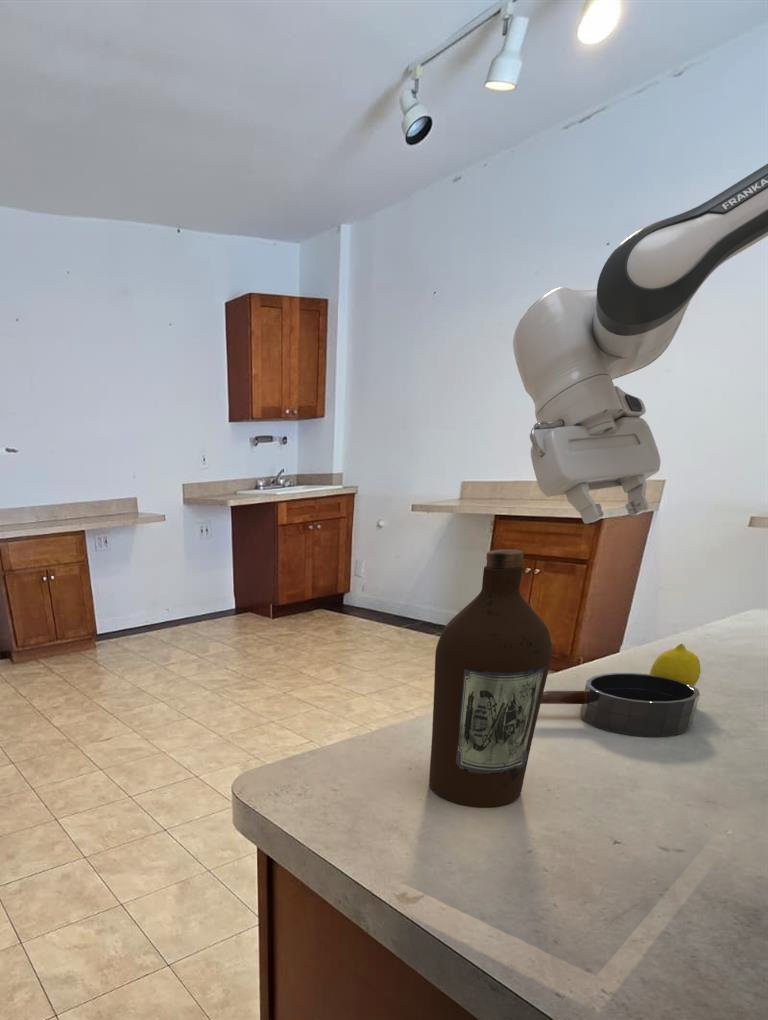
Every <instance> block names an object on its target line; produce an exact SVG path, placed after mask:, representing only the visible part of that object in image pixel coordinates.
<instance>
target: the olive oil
mask: <svg viewBox="0 0 768 1020" xmlns="http://www.w3.org/2000/svg"><path fill="white" fill-rule="evenodd" d="M524 554H525V551H523V550H521V549H511V548H510V549H508V548H507V549H506V548H505V549H493V550H489V551H487V552H486V557H485V558H486V559H485V560H486V565H485V566H483V571H482V572H483V573H482V574H483V575H482V582H481V590H480V592H479V593H478V594H477V595H476V596H475V597H474V598H473V599H472V600H471V601H470V602H469V603H468V604H467V605H466V606H465V607H464V608H462V609H461V610H460V611H459V612H458V613H457V614H456V615H455V616H454V617H452V618H451V619H450V621H448V623H446V625H445V626H444V628H443V630H442V631H441V634H440V636H439V638H438V641H437V644H436V647H435V653H434V654H435V655H434V681H433V703H432V704H433V708H432V728H431V730H432V731H431V748H430V761H429V762H430V763H429V778H428V779H429V780H428V784H429V787H430V788H431V789H432V790H433V792H434V793H435V792H436V793H435V794H437V795H438V796H440V797H441V798H443V799H445V800H447V799H448V801H449V802H453V803H456V804H460V805H465V806H471V807H478V808H479V807H480V808H481V807H484V808H486V807H487V808H489V807H499V806H504V805H508V804H511V803H512V802H515V801H516V800H518V799H519V797H520V796H521V794H522V790H523V785H524V781H525V780H524V779H525V776H526V771H527V768H528V767H527V766H528V761H529V756H530V752H531V747H532V743H533V739H534V733H535V730H536V725H537V722H538V716H539V713H540V708H541V705H542V704H541V700H542V696H543V691H544V690H545V687H546V684H547V678H548V674H549V671H550V666H551V663H552V658H553V657H552V656H553V647H552V639H551V634H550V632H549V629H548V627H547V625H546V623H545V622H544V621H543V620H542V618H541V617H540V616H539V614H537V612H536V611H535V610H534V608H532V607H531V605H530V604H529V603H528V601H526V599H525V598H524V597H523V595H522V594H521V591H520V588H521V587H520V586H521V582H522V576H523V570H524V566H523V565H522V562H523V560H524Z"/></svg>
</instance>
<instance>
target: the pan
mask: <svg viewBox="0 0 768 1020" xmlns="http://www.w3.org/2000/svg"><path fill="white" fill-rule="evenodd" d="M583 691H587V692H588V701H587V703H586V704H580V705H581V706H580V712H579V716H580V718H581V719H582V720H583V721H584V722H585V723H587V724H589V725H590V726H593V727H595V728H598V729H599V730H603V731H607V732H610V733H614V734H620V735H627V736H631V737H632V736H634V737H644V738H664V737H665V738H666V737H674V736H679V735H682V734H685V733H686V732H688V731H689V730H690V729H691V726H692V724H693V721H694V718H695V713H696V710H697V708H698V703H699V700H700V697H701V693H700V690H699V688H697V687H696V686H692V685H691V684H688V683H685V682H683V681H679V680H676V679H672V678H668V677H663V676H656V675H650V673H648V674H647V673H637V672H611V673H602V674H598V675H595V676H591V677H590V678H588V679H586V681H585V686H584V690H583Z"/></svg>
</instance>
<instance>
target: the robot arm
mask: <svg viewBox="0 0 768 1020" xmlns="http://www.w3.org/2000/svg"><path fill="white" fill-rule="evenodd" d="M767 237H768V163H766V164H765V165H762V166H761V167H760V168H758V169H756V170H754V171H753V172H752V173H750V174H748V175H747V176H745V177H743V178H742V179H740V180H739V181H737V182H736V183H734V184H732V185H731V186H729V187H728V188H726V189H725V190H723V191H721V192H720V193H718V194H717V195H715V196H713V197H712V198H710V199H708V200H707V201H705V202H703V203H701V204H700V205H699V204H698V206H696V207H693V208H691V209H689V210H686V211H685V212H684V211H683V212H682V213H679V214H677V215H673V216H671V217H668V218H664V219H661V220H659V221H656V222H653V223H650V224H648V225H646V226H645V227H642V228H641V229H638V230H637V231H635V232H634V233H632V234H631V235H630V236H628V237H626V239H624V240H623V241H622V242H621V243H620V244H619V245H617V247H616V248H615V249H614V250H613V251H612V253H611V254H610V255H609V257H608V258H607V260H606V261H605V262H604V265H603V267H602V269H601V271H600V273H599V276H598V280H597V284H596V289H588V290H587V289H582V290H581V289H580V290H579V289H572V288H569V287H566V286H561V287H558V288H557V287H556V288H554V289H553V290H551V291H549V292H547V293H545V294H544V295H542V296H541V297H540V298H539V299H538V300H536V302H534V303H533V304H531V306H529V308H528V309H527V311H526V312H525V313H524V315H523V316H522V317H521V318H520V320H519V322H518V324H517V326H516V328H515V331H514V334H513V339H512V348H513V355H514V359H515V364H516V366H517V370H518V373H519V376H520V379H521V382H522V386H523V387H524V390H525V392H526V393H527V394H528V396H530V398H531V400H532V402H533V405H534V416H535V420H536V422H535V424H534V425H533V427H532V428H531V430H530V432H529V439H530V440H529V441H530V442H531V444H532V445H531V448H530V458H531V463H532V467H533V471H534V475H535V479H536V482H537V485H538V487H539V490H540V491H541V492H542V493H543V495H545V496H546V497H555V496H557V497H558V496H566V499H567V501H568V503H569V504H570V505H571V506H572V507H573V508H574V509H575V510H576V511H577V512H578V513H579V514H580V517H581V520H582V522H583V523H584V524H585V525H586V524H593V523H595V522H597V521H599V520H601V519H602V518H603V517H604V511H603V510H602V506H601V503H596V502H595V500H594V499H593V497H592V496H591V494H590V493H589V492H592V491H599V490H605V489H613V488H619V487H620V488H622V490H623V492H624V493H627V503H626V504H625V505H624V506H625V509H626V511H627V514H628V516H630V517H633V516H639V515H641V514H643V513H645V512H646V511H648V510H649V503H648V500H647V499H646V495H647V494H646V493H647V481H646V480H647V479H649V478H650V477H652V476H653V475H656V473H657V474H658V472H659V471H660V468H661V456H660V453H659V449H658V446H657V443H656V440H655V437H654V435H653V432H652V430H651V427H650V425H649V424H648V422H647V421H646V420H645V419H644V418H642V416H644V415H645V414H646V412H647V410H646V409H647V408H646V405H645V403H644V401H643V400H642V399H641V398H639V397H636V396H634V395H631V394H630V393H628V392H625V390H623V389H621V387H619V386H618V385H615V384H614V382H613V380H615V379H618V378H621V377H624V376H626V375H629V374H632V373H634V372H636V371H639V370H641V369H643V368H645V367H647V366H649V365H651V364H653V363H654V362H655V361H656V360H657V359H659V358H660V357H661V356H662V354H664V353H665V351H666V350H667V349H668V348H669V346H670V344H671V343H672V341H673V339H674V338H675V336H676V334H677V332H678V330H679V328H680V325H681V323H682V321H683V318H684V315H685V314H686V311H687V310H688V307H689V305H690V303H691V301H692V299H693V298H694V296H695V295H696V293H697V292H698V290H700V288H701V286H702V285H703V284H704V283H705V282H706V281H707V279H708V278H709V277H710V276H711V275H712V273H714V271H716V270H717V269H718V268H719V267H720V266H722V265H723V264H724V263H725V262H727V261H728V260H730V259H731V258H733V257H735V256H737V255H738V254H741V253H742V252H743V251H746V250H747V249H749V248H750V247H751V246H752V247H753V246H754V245H755V244H757V243H759V242H760V241H762V240H763V239H765V238H767Z"/></svg>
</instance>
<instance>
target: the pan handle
mask: <svg viewBox="0 0 768 1020" xmlns="http://www.w3.org/2000/svg"><path fill="white" fill-rule="evenodd" d="M587 701H588V692H587V691H584V690H551V689H550V690H548V689H547V690H546V689H544V691H543V696H542V700H541V704H540V705H582V704H586V703H587Z"/></svg>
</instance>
